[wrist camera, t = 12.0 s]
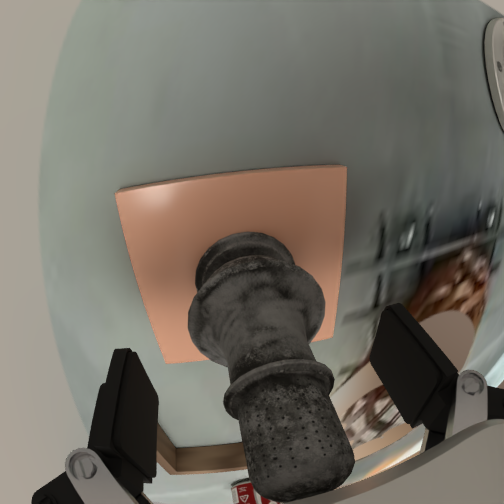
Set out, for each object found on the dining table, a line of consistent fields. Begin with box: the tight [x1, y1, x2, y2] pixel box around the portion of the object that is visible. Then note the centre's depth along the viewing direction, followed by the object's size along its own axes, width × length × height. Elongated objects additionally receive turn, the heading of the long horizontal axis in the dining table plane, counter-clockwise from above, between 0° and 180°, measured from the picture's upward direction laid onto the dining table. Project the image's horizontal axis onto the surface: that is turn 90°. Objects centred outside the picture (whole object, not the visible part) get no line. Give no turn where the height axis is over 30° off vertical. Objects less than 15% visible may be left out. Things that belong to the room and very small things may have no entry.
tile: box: [115, 164, 347, 364], centre depth 15 cm, size 11×11×1 cm
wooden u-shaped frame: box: [157, 424, 247, 475], centre depth 21 cm, size 14×11×3 cm
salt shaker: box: [188, 232, 355, 503], centre depth 9 cm, size 6×6×12 cm
